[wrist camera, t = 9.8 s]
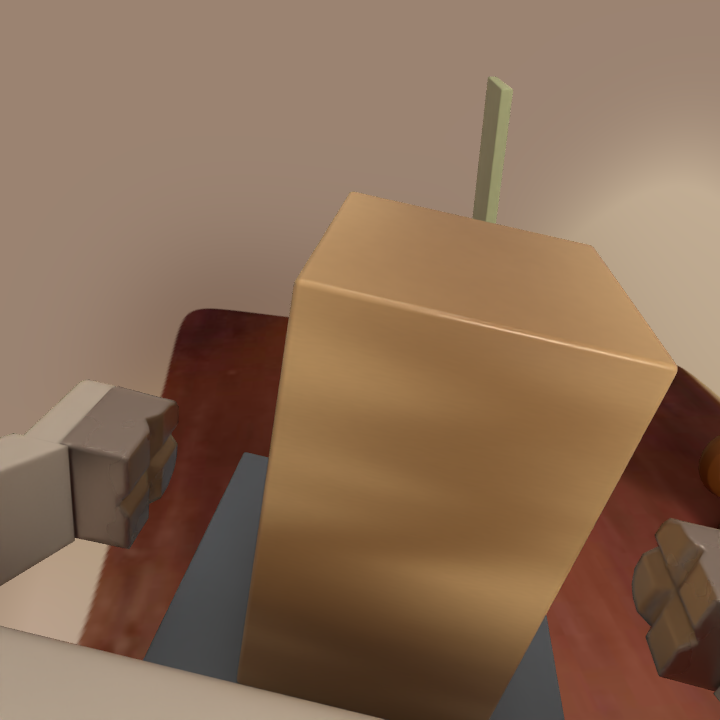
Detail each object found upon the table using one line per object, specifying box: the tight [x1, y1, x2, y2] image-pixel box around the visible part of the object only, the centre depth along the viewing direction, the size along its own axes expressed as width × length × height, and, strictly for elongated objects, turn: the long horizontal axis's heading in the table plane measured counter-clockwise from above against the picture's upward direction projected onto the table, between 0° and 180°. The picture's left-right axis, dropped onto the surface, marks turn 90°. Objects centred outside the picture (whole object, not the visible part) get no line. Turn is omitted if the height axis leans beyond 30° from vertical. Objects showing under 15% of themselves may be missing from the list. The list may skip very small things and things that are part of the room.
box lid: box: [473, 77, 513, 224], centre depth 43 cm, size 14×12×1 cm
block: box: [237, 192, 677, 720], centre depth 11 cm, size 4×4×8 cm
